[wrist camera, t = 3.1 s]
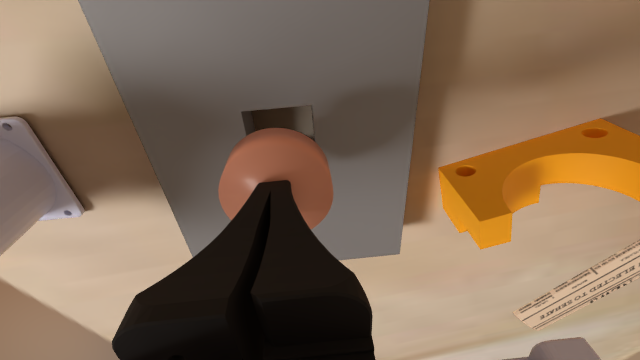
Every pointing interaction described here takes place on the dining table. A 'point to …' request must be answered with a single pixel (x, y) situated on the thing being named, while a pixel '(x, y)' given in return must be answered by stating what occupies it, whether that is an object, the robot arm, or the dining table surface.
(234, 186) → the knob
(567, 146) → the pipe clamp
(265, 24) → the plate
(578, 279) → the newspaper
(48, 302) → the dining table surface
